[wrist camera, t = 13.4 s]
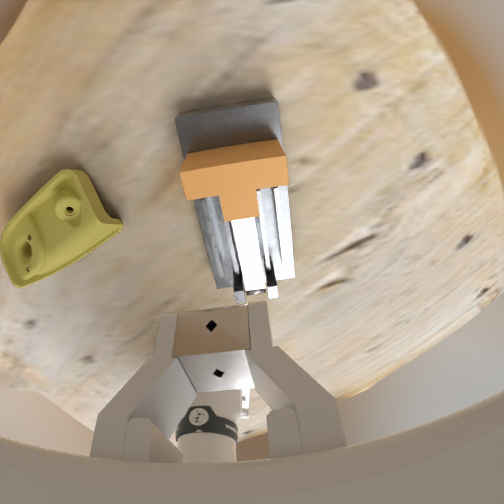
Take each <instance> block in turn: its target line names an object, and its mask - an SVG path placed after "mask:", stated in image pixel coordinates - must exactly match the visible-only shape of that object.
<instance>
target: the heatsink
mask: <svg viewBox="0 0 504 504" xmlns="http://www.w3.org/2000/svg"><path fill="white" fill-rule="evenodd" d="M175 121H176V126H177V130H178V135H179V139H180V144H181V148H182V152H183V157H184V160H185V158H186V155H187V154H188V153H193V152H198V151H204V150H209V149H215V148H221V147H227V146H233V145H239V144H246V143H253V142H260V141H267V140H274V139H278V141H279V142H280V144H281V146H282V148H283V141H282V132H281V124H280V115H279V107H278V101H277V100H276V99H275V98H269V99H261V100H253V101H246V102H239V103H233V104H227V105H221V106H215V107H210V108H204V109H199V110H194V111H189V112H184V113H179V114H178V116H177V117H176V118H175ZM256 193H257V199H258V206H259V213H260V217H254V219H255V225H256V232H257V238H258V245H259V251H260V258H261V264H262V271H263V277H264V282H267V288H268V295H269V299H271V298H278V289H277V283H276V280H282V279H289V278H295V271H294V258H293V245H292V233H291V222H290V210H289V200H288V189H287V185H285V186H277V187H270V188H263V189H256ZM194 202H195V206H196V210H197V214H198V218H199V222H200V226H201V230H202V234H203V237H204V241H205V245H206V249H207V253H208V256H209V260H210V264H211V268H212V271H213V275H214V279H215V282H216V286H217V289H219V288H227V287H234V295H235V300H236V303H243V302H246V299H245V283H244V278H243V273H242V269H241V264H240V259H239V255H238V250H237V245H236V240H235V235H234V231H233V226H232V221H227V222H224V217H223V213H222V208H221V203H220V198H219V195H218V196H212V197H206V198H200V199H194Z"/></svg>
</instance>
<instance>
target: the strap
mask: <svg viewBox="0 0 504 504" xmlns="http://www.w3.org/2000/svg"><path fill="white" fill-rule="evenodd" d="M232 226H233V231H234V235H235V240H236V245H237V250H238V255H239V259H240V264H241V269H242V273H243V278H244V283H245V288H246V293H247V295H254V294H261V293H266V290H265V284H264V277H263V271H262V264H261V258H260V251H259V245H258V238H257V232H256V225H255V219H254V217H253V218H247V219H240V220H234V221H232Z"/></svg>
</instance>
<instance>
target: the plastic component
mask: <svg viewBox="0 0 504 504" xmlns="http://www.w3.org/2000/svg"><path fill="white" fill-rule="evenodd" d="M67 207H72V208H73V210H68V209H67ZM123 227H124V226H123V224H122V222H121V221H120V220H119V219H117V218H111V217H110V216H109V215H108V214H107V213H106V211H105V210H104V208H103V206H102V204H101V201H100V199H99V197H98V195H97V193H96V191H95V189H94V187H93V184H92V182H91V180H90V178H89V176H88V175H87V174H86V173H85V172H84V171H82V170H72V169H64V170H61V171H59V172H58V173H57V174H56V175H55V176H54V177H53V178H52V179H51V180H49V181H48V182H47V183H46V184H45V185H44V186H43V187H42V188H41V189H40V190H39V191H38V192H37V193H36V194H35V195H34V196H33V197H32V198H31V199H30V200H29V201H28V202H27V203H26V204H25V205H24V206H23V207H22V208H21V209H20V210H19V211H18V212H17V213H16V214H15V215H14V216H13V217H12V218H11V219H10V221H9V222H8V223H7V225H6V226H5V228H4V230H3V232H2V235H1V239H0V253H1V258H2V261H3V264H4V267H5V269H6V271H7V273H8V275H9V278H10V280H11V282H12V284H13V285H14V286H15V287H17V288H22V287H25V286H28V285H30V284H33V283H35V282H37V281H40V280H42V279H44V278H46V277H48V276H51V275H53V274H55V273H57V272H59V271H60V270H62V269H64V268H66V267H68V266H70V265H71V264H73V263H75V262H76V261H78V260H79V259H81V258H83V257H84V256H86V255H87V254H88V253H90V252H91V251H93V250H94V249H96V248H97V247H98V246H100V245H101V244H103V243H104V242H106V241H107V240H109V239H110V238H112V237H113V236H115V235H116V234H118V233H119V232H120V231H121V230H122V229H123ZM30 235H31V237H30ZM28 267H29V269H30V270H29V269H28Z"/></svg>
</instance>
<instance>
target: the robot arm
mask: <svg viewBox="0 0 504 504" xmlns="http://www.w3.org/2000/svg"><path fill="white" fill-rule="evenodd" d="M251 388H255V390H256V391H257V392H258V393H259V395H260V396H261V397H262V398H263V399H264V401H265V402H266V403H267V404H268V406H269V407H270V408H271V409H272V411H270V413H269V414H268V415H267V428H268V439H269V440H268V441H269V453H270V459H264V460H252V461H241V462H236V448H235V445H236V444H237V439H238V427H239V426H240V424H241V418H249V416H248V409H249V400H250V391H251ZM175 429H176V430H175ZM174 430H175V435H176V441H177V442H178V444H177V448H176V447H175V446H174V445H173V444H172V443H171V442H170V441H169V438H170V437H171V435H172V434H173V432H174ZM0 504H504V391H502V392H500V393H498V394H496V395H494V396H492V397H489V398H487V399H485V400H483V401H481V402H479V403H476V404H474V405H472V406H470V407H467V408H465V409H462V410H460V411H457V412H455V413H452V414H450V415H447V416H445V417H442V418H440V419H437V420H434V421H431V422H428V423H426V424H423V425H420V426H417V427H414V428H411V429H408V430H405V431H401V432H398V433H395V434H391V435H388V436H384V437H381V438H377V439H373V440H369V441H365V442H361V443H357V444H353V445H349V446H347V445H346V441H345V437H344V432H343V428H342V424H341V419H340V415H339V411H338V406H337V402H336V399H335V398H334V397H333V396H332V395H331V394H330V393H329V392H327V391H326V390H325V389H324V388H323V387H322V386H321V385H320V384H319V383H317V382H316V381H315V380H314V379H313V378H312V377H311V376H310V375H309V374H308V373H307V372H305V371H304V370H303V369H302V368H301V367H300V366H299V365H298V364H297V363H296V362H295V361H293V360H292V359H291V358H290V357H289V356H288V355H287V354H286V353H285V352H284V351H283V350H282V349H281V348H280V347H279V346H274V347H273V341H272V334H271V328H270V321H269V314H268V308H267V302H266V301H262V302H255V303H249V304H243V305H236V306H229V307H221V308H214V309H207V310H197V311H186V312H179V313H167V314H163V315H162V316H161V318H160V323H159V328H158V333H157V339H156V344H155V350H154V355H153V359H148V360H147V361H146V362H145V363H144V364H143V366H142V367H141V368H140V369H139V370H138V371H137V372H136V373H135V374H134V375H133V377H132V378H131V379H130V380H129V381H128V382H127V383H126V384H125V385H124V387H123V388H122V389H121V390H120V391H119V392H118V393H117V394H116V395H115V396H114V398H113V399H112V400H111V401H110V402H109V403H108V404H107V405H106V406H105V408H104V409H103V410H102V411H101V412H100V413H99V414H98V417H97V422H96V427H95V431H94V437H93V442H92V447H91V453H90V456H83V455H77V454H71V453H66V452H60V451H55V450H50V449H45V448H41V447H37V446H32V445H28V444H24V443H20V442H17V441H13V440H10V439H6V438H2V437H0Z"/></svg>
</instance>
